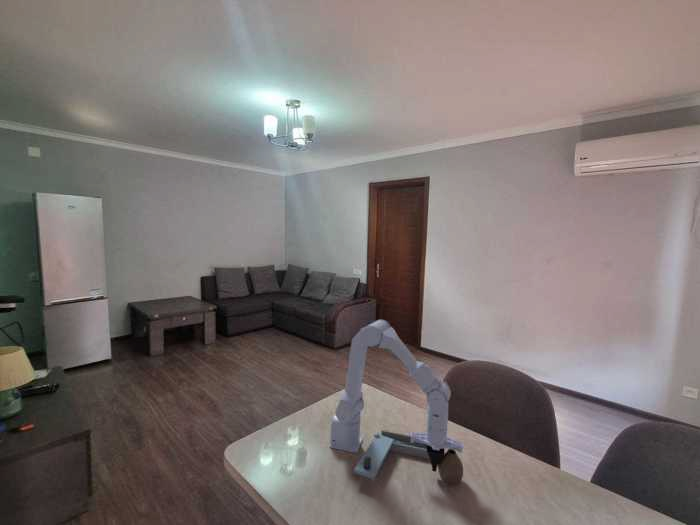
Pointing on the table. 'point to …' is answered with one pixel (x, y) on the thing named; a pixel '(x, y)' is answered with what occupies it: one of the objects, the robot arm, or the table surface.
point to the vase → (450, 468)
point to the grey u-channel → (406, 445)
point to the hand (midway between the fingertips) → (434, 469)
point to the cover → (374, 456)
